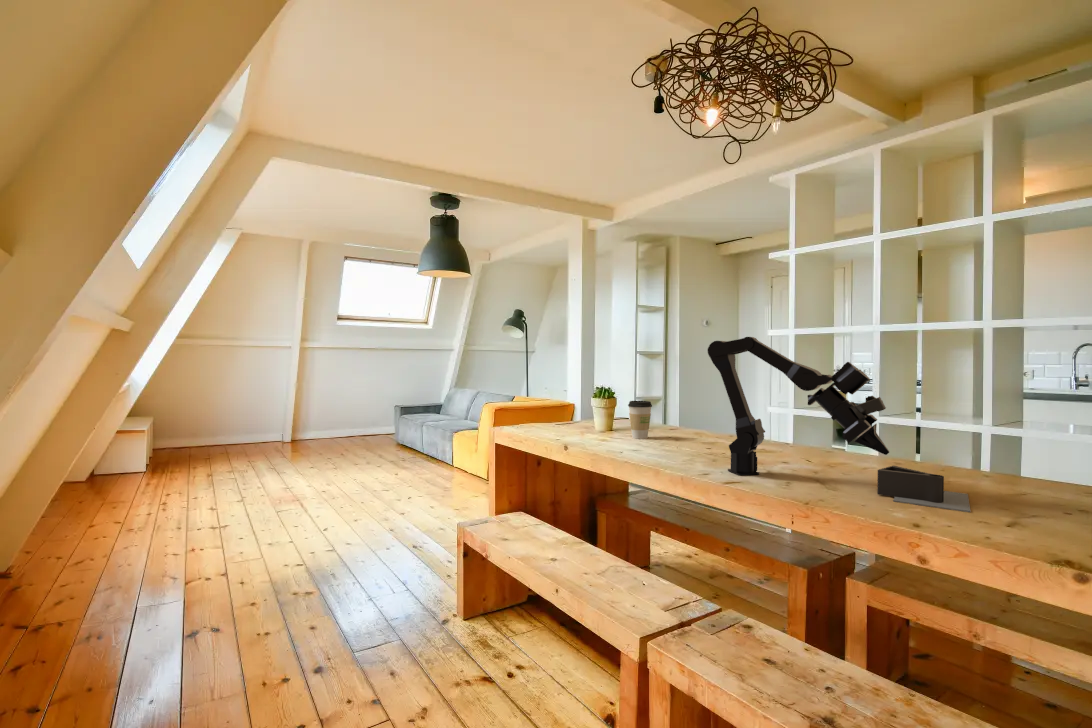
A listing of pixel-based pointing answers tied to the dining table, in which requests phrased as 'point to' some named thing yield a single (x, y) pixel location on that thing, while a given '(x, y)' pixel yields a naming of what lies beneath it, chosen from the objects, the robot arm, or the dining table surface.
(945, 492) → the mat
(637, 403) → the coffee cup
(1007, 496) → the dining table surface
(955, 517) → the dining table surface
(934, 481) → the dark tent sign
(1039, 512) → the dining table surface
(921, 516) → the dining table surface
